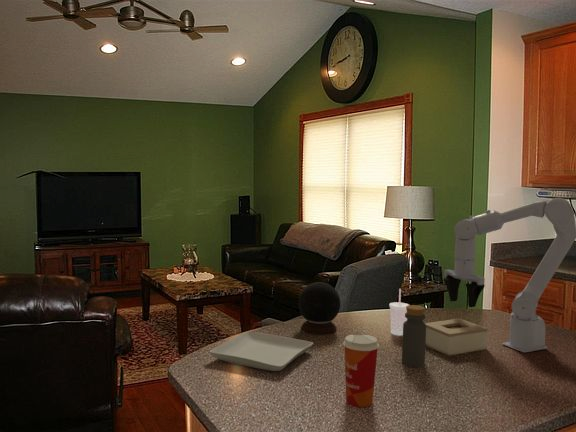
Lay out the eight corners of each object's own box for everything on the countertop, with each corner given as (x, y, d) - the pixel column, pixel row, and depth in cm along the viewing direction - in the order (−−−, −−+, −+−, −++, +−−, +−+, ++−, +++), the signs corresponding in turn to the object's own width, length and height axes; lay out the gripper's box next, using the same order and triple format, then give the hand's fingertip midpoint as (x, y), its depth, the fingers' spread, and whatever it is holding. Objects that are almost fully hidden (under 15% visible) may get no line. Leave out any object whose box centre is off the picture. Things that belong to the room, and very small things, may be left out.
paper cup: (338, 394, 119) (340, 333, 118) (372, 394, 120) (374, 333, 119) (345, 410, 111) (347, 344, 110) (381, 409, 112) (383, 344, 111)
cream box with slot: (458, 337, 162) (459, 318, 162) (486, 349, 152) (487, 328, 152) (422, 343, 156) (422, 323, 155) (448, 355, 146) (449, 334, 146)
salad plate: (314, 352, 148) (315, 340, 147) (281, 379, 129) (281, 365, 128) (247, 341, 157) (247, 329, 156) (207, 364, 137) (207, 351, 137)
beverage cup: (411, 332, 167) (413, 288, 166) (404, 337, 162) (406, 291, 160) (392, 329, 170) (394, 285, 169) (385, 333, 165) (386, 289, 164)
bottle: (425, 368, 136) (427, 310, 135) (401, 366, 137) (403, 309, 136) (424, 360, 142) (426, 305, 141) (401, 358, 143) (403, 303, 142)
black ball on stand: (289, 330, 166) (290, 283, 165) (310, 321, 177) (311, 276, 176) (327, 338, 159) (328, 288, 158) (346, 328, 170) (348, 281, 169)
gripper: (437, 256, 165) (435, 299, 166) (472, 264, 152) (470, 310, 153) (455, 255, 168) (453, 297, 169) (490, 262, 155) (488, 308, 157)
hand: (462, 303), depth 162 cm, fingers open, 7 cm apart
